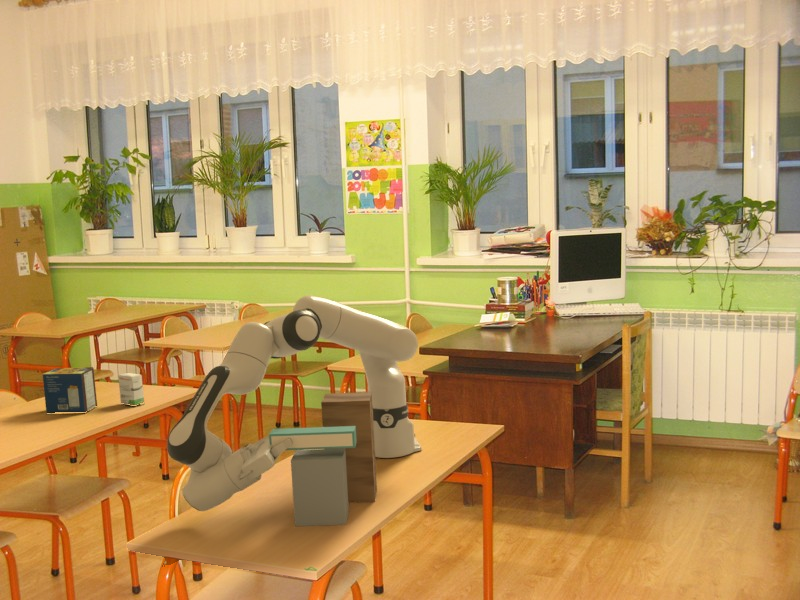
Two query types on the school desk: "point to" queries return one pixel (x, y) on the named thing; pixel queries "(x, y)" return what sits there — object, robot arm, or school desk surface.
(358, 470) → the bookcase block
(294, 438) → the book
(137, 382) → the ink box
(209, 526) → the school desk surface
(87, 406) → the protein box
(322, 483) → the step
